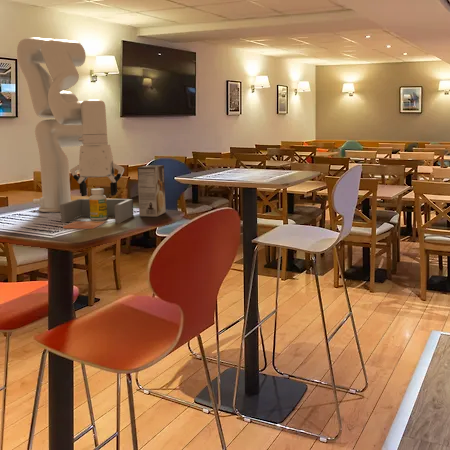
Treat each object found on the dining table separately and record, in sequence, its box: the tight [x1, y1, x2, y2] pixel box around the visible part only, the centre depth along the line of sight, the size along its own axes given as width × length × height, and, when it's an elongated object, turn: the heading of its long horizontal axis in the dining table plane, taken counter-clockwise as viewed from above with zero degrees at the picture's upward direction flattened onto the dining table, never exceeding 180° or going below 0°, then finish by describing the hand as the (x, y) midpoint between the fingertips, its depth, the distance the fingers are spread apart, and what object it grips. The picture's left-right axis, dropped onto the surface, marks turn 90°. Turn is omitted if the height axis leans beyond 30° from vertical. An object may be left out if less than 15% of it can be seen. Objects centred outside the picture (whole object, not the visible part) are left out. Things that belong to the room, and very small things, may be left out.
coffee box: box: [137, 164, 167, 218], centre depth 193 cm, size 9×6×16 cm
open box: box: [59, 198, 134, 224], centre depth 185 cm, size 18×15×6 cm
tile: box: [63, 220, 105, 229], centre depth 173 cm, size 9×9×1 cm
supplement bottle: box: [88, 188, 108, 221], centre depth 185 cm, size 5×5×10 cm
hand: (98, 195), depth 184 cm, fingers open, 9 cm apart
